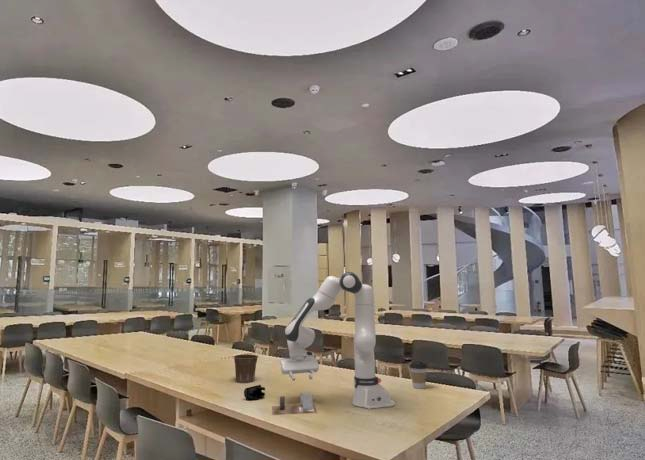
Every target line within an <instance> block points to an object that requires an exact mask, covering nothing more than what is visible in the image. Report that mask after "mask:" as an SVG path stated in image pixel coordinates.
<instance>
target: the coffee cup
mask: <svg viewBox="0 0 645 460" xmlns="http://www.w3.org/2000/svg"><path fill="white" fill-rule="evenodd" d="M408 368H410V374H411V381H412V382H411V383H412V387H413V389H417V390H425V389H426V385H427V374H428V365H427V363H426V362H425V361H411V362H410V364H409V365H408Z"/></svg>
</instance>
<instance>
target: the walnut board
mask: <svg viewBox="0 0 645 460" xmlns="http://www.w3.org/2000/svg"><path fill="white" fill-rule="evenodd" d="M285 400H286V396H284V395H282V396H279V405H274V406H273V405H272V406H271V408H272V409H271V410H272V411H271V412H272V413H271V414H272V416H277V415H301V414H303V415H304V414H318V411H317V408H316V404H313V410H307V411H303V410H302V409H301V408H300V404H298V405H297V404H296V405H293V404H292V405H285V402H286V401H285Z"/></svg>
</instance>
